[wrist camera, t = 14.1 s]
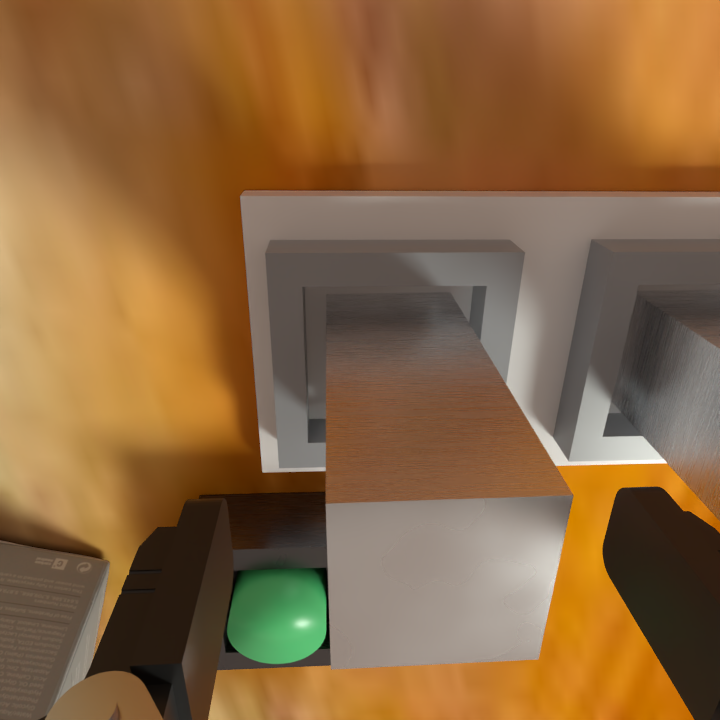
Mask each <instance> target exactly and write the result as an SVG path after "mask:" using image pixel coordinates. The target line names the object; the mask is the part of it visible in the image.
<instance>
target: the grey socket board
mask: <svg viewBox="0 0 720 720" xmlns="http://www.w3.org/2000/svg"><path fill="white" fill-rule="evenodd" d="M240 202H241V215H242V227H243V239H244V252H245V264H246V277H247V289H248V301H249V314H250V326H251V338H252V351H253V363H254V376H255V388H256V400H257V413H258V425H259V438H260V450H261V462H262V473H266V472H308V471H326V294H369V293H431V292H451V294H452V296H453V297H454V299H455V301H456V302H457V304H458V306H459V307H460V309H461V310H462V312H463V314H464V315H465V317H466V319H467V320H468V322H469V324H470V325H471V327H472V329H473V330H474V332H475V334H476V335H477V337H478V339H479V340H480V342H481V343H482V345H483V347H484V348H485V350H486V352H487V353H488V355H489V357H490V358H491V360H492V362H493V363H494V365H495V367H496V368H497V370H498V372H499V373H500V375H501V377H502V378H503V380H504V381H505V383H506V385H507V386H508V388H509V390H510V391H511V393H512V395H513V396H514V398H515V400H516V401H517V403H518V405H519V406H520V408H521V410H522V411H523V413H524V415H525V416H526V418H527V419H528V421H529V423H530V424H531V426H532V428H533V429H534V431H535V433H536V434H537V436H538V438H539V439H540V441H541V443H542V444H543V446H544V448H545V449H546V451H547V453H548V454H549V456H550V457H551V459H552V461H553V462H554V464H555V466H562V465H605V464H647V463H667V462H666V461H665V460H664V459H663V458H662V457H661V456H660V455H659V454H658V452H657V451H656V450H655V449H654V448H653V447H652V446H651V445H650V444H649V443H648V441H647V440H646V439H645V438H644V437H643V436H642V435H641V434H640V433H639V432H638V430H637V429H636V428H635V427H634V426H633V425H632V424H631V423H630V422H629V421H628V419H627V418H626V417H625V416H624V415H623V414H622V413H621V412H620V411H619V409H618V408H617V407H616V406H615V405H614V404H613V403H612V402H611V399H612V395H613V391H614V387H615V383H616V379H617V375H618V370H619V366H620V362H621V358H622V354H623V350H624V345H625V341H626V337H627V333H628V329H629V325H630V320H631V316H632V312H633V308H634V304H635V300H636V295H637V291H668V290H720V192H644V191H289V190H244V192H243V193H242V194H241V195H240Z"/></svg>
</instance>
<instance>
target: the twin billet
mask: <svg viewBox="0 0 720 720" xmlns="http://www.w3.org/2000/svg"><path fill="white" fill-rule="evenodd" d="M611 402H612V403H613V404H614V405H615V406H616V407H617V408H618V409H619V411H620V412H621V413H622V414H623V415H624V416H625V417H626V418H627V419H628V421H629V422H630V423H631V424H632V425H633V426H634V427H635V428H636V429H637V430H638V432H639V433H640V434H641V435H642V436H643V437H644V438H645V439H646V440H647V441H648V443H649V444H650V445H651V446H652V447H653V448H654V449H655V450H656V451H657V452H658V454H659V455H660V456H661V457H662V458H663V459H664V460H665V461H666V462H667V463H668V465H669V466H670V467H671V468H672V469H673V470H674V471H675V472H676V473H677V474H678V476H679V477H680V478H681V479H682V480H683V481H684V482H685V483H686V484H687V486H688V487H689V488H690V489H691V490H692V491H693V492H694V493H695V494H696V495H697V497H698V498H699V499H700V500H701V501H702V502H703V503H704V504H705V505H706V506H707V508H708V509H709V510H710V511H711V512H712V513H713V514H714V515H715V516H716V517H717V519H718V520H719V521H720V290H668V291H637V295H636V300H635V304H634V308H633V312H632V316H631V320H630V325H629V329H628V333H627V337H626V341H625V345H624V350H623V354H622V358H621V362H620V366H619V370H618V375H617V379H616V383H615V387H614V391H613V395H612V399H611Z"/></svg>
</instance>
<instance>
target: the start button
mask: <svg viewBox="0 0 720 720" xmlns="http://www.w3.org/2000/svg"><path fill="white" fill-rule="evenodd" d="M227 635H228V638H229V641H230V643H231V644H232V646H233V647H234V648H235V649H236V650H237V651H238V652H239V653H241V654H242V655H244V656H246V657H247V658H249V659H252V660H255V661H258V662H262V663H269V664H284V663H291V662H295V661H298V660H301V659H304V658H306V657H308V656H309V655H311V654H312V653H314V652H315V651H316V650H317V649H318V648H319V647H320V646H321V644H322V643H323V641H324V639H325V636H326V568H297V569H266V570H238V571H237V577H236V582H235V588H234V593H233V598H232V604H231V609H230V615H229V620H228V626H227Z"/></svg>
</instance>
